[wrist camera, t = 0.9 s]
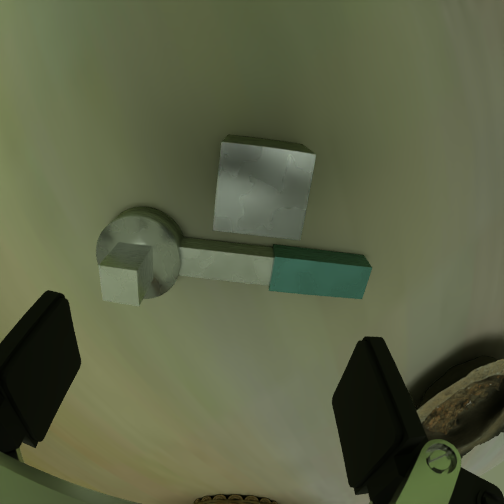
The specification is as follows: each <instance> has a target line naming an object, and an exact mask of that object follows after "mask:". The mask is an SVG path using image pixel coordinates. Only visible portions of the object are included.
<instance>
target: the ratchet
mask: <svg viewBox="0 0 504 504" xmlns="http://www.w3.org/2000/svg"><path fill="white" fill-rule="evenodd" d="M96 257H97V262H98V266H99V275H100V283H101V291H102V298H103V300H104V301H110V302H115V303H121V304H128V305H134V306H140V304H141V302H142V300H143V299H149V298H154V297H158V296H160V295H162V294H164V293H166V292H167V291H168V290H169V289H170V288H171V287H172V286H173V285H174V283H175V282H176V279H177V277H178V275H181V276H189V277H198V278H206V279H215V280H223V281H232V282H241V283H250V284H259V285H269V291H277V292H287V293H298V294H308V295H319V296H331V297H343V298H355V299H362V297H363V294H364V291H365V288H366V285H367V282H368V279H369V276H370V273H371V270H372V267H371V265H370V264H369V262H368V261H367V259H366V258H365V256H364V255H358V254H350V253H342V252H334V251H325V250H317V249H309V248H300V247H292V246H283V245H275V244H273V247H266V246H258V245H249V244H240V243H231V242H223V241H214V240H205V239H196V238H187V237H184V236H183V234H182V232H181V230H180V228H179V227H178V225H177V224H176V223H175V221H174V220H173V219H172V218H170V217H169V216H168V215H167V214H165V213H163V212H162V211H159V210H157V209H154V208H151V207H134V208H130V209H128V210H126V211H124V212H122V213H121V214H120V215H119V216H117V217H116V218H115V219H114V220H113V221H112V222H111V223H110V224H109V225H108V226H107V227H106V228H105V229H104V230H103V231H102V233H101V234H100V236H99V239H98V242H97V246H96Z"/></svg>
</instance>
